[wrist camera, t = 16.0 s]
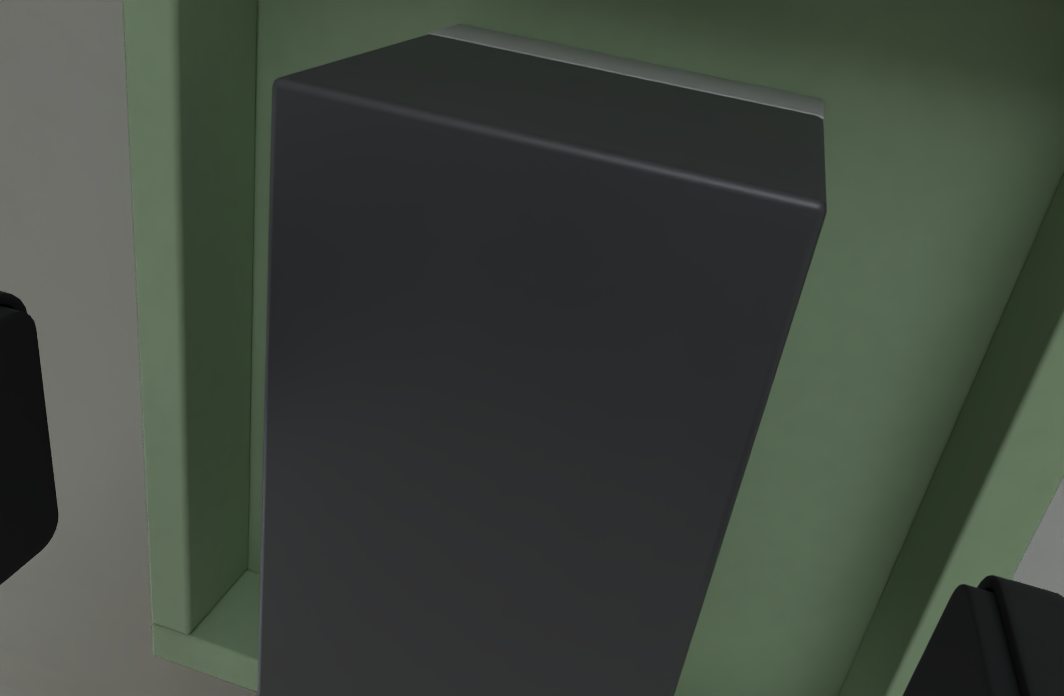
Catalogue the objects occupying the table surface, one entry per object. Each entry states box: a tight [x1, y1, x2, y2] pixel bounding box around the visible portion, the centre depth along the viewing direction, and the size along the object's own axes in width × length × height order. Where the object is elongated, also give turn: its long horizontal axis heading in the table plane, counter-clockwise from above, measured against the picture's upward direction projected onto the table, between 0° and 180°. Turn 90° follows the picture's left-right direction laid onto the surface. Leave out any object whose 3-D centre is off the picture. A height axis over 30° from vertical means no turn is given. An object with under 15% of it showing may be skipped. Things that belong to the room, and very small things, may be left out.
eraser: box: [257, 24, 827, 696], centre depth 12 cm, size 9×5×5 cm, turn 171°
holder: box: [123, 0, 1064, 696], centre depth 14 cm, size 15×13×3 cm
